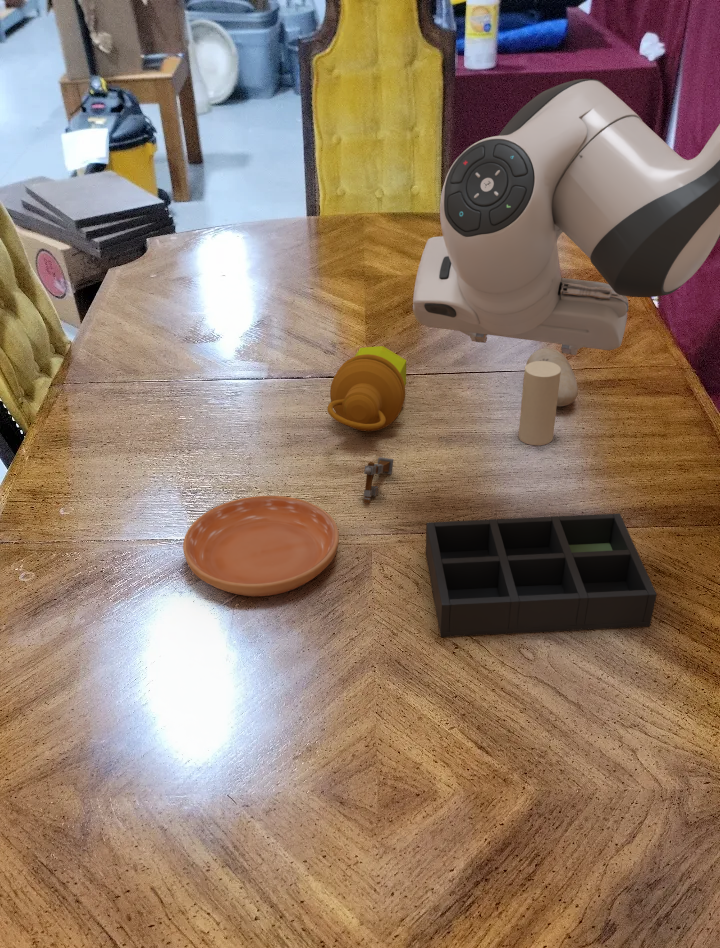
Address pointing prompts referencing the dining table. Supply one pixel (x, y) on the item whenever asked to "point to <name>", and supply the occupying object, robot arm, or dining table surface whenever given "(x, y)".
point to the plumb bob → (369, 389)
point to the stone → (567, 377)
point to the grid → (536, 575)
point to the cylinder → (539, 402)
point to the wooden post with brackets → (382, 467)
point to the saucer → (261, 545)
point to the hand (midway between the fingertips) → (525, 341)
